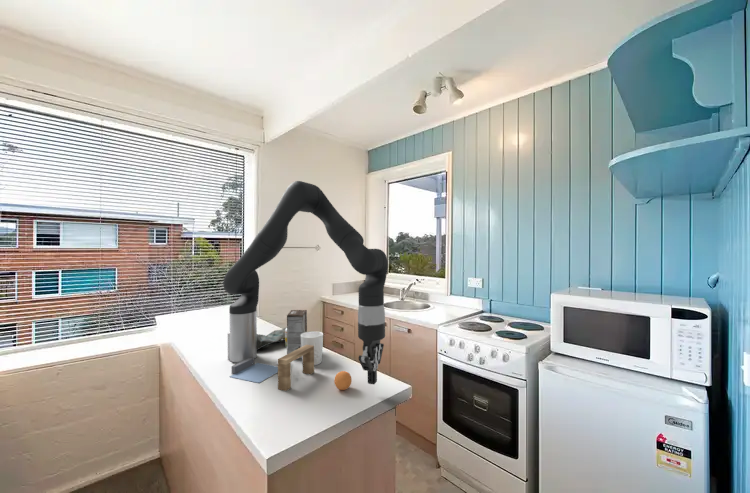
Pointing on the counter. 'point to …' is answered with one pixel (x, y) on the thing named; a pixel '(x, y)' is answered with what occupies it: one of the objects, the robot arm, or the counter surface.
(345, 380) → the ball
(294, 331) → the coffee box
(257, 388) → the counter surface
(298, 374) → the counter surface
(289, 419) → the counter surface
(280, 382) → the bridge
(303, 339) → the white cup
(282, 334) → the grey green crumpled pouch
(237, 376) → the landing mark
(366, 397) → the counter surface
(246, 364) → the strip
